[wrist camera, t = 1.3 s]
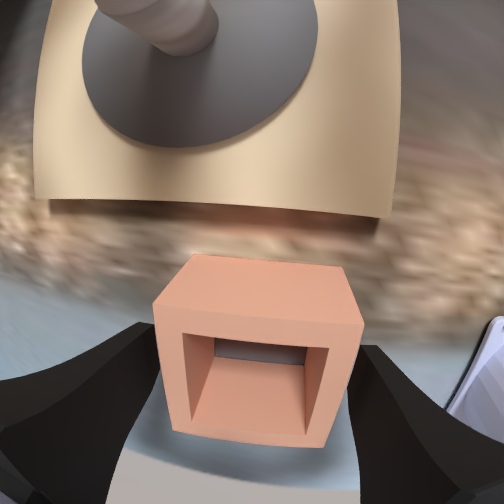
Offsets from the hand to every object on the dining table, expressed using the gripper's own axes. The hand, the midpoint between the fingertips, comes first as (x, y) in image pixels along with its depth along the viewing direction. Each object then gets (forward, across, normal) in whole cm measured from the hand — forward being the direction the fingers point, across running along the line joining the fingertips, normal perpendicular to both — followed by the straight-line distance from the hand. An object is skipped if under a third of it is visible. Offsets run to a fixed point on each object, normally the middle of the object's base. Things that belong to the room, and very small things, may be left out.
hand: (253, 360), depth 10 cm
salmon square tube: (+2, 0, 0) cm, 2 cm away
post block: (+2, +3, -11) cm, 12 cm away
